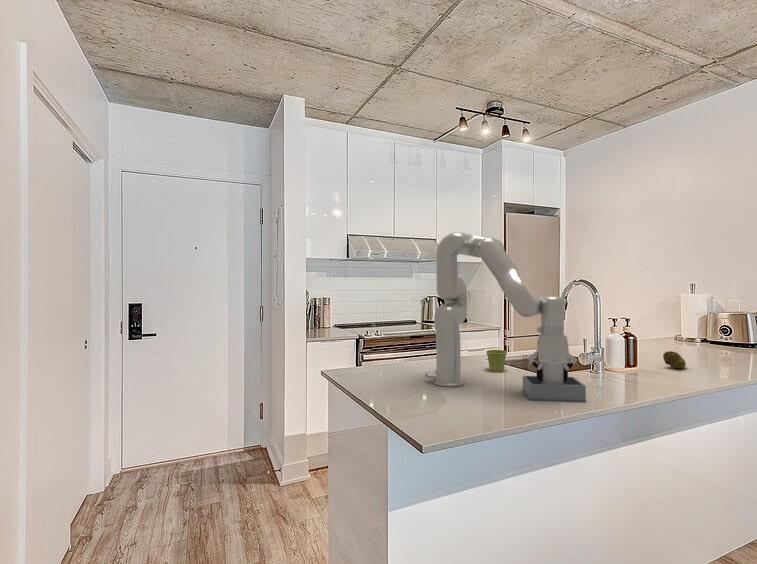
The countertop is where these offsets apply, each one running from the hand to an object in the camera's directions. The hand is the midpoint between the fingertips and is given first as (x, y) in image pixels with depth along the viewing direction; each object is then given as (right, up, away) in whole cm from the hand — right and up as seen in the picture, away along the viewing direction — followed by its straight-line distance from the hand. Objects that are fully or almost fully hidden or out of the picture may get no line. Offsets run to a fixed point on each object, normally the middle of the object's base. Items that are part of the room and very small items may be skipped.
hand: (552, 380), depth 148 cm
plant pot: (-9, -5, +39) cm, 40 cm away
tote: (0, -5, 0) cm, 5 cm away
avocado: (+72, -4, +40) cm, 83 cm away
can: (0, -4, 0) cm, 4 cm away
